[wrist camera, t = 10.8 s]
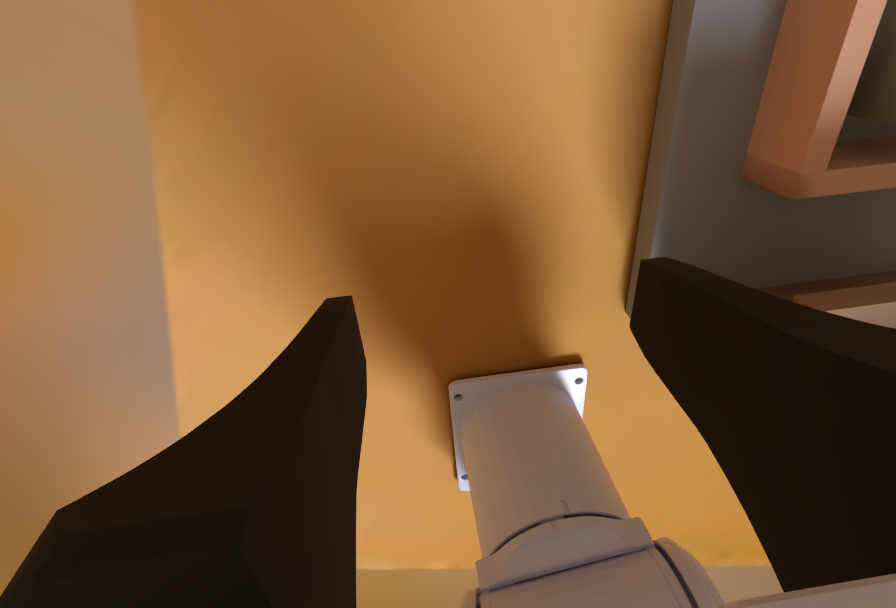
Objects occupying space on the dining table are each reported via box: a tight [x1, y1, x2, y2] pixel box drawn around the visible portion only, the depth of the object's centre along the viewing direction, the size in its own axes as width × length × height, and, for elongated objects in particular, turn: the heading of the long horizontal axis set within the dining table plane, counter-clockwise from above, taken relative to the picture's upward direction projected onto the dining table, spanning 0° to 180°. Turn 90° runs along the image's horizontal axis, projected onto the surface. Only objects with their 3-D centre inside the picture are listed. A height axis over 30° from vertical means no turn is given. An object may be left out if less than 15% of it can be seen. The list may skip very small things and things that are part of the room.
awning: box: [756, 271, 896, 329], centre depth 19 cm, size 6×14×8 cm, turn 94°
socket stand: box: [625, 0, 896, 319], centre depth 19 cm, size 18×16×4 cm
